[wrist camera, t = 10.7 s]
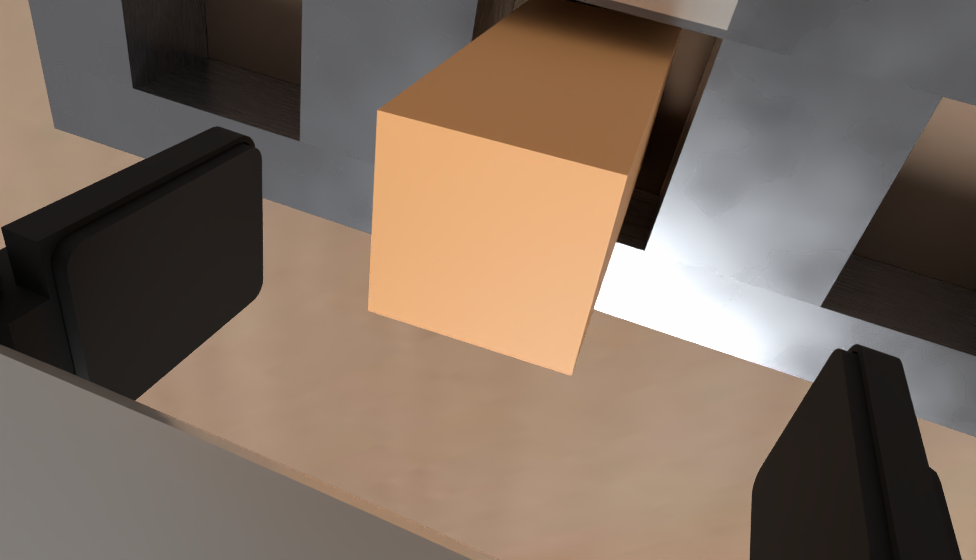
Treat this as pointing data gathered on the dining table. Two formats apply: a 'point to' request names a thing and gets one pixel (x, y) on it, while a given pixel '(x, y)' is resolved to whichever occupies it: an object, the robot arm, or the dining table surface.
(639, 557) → the dining table surface
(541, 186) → the square peg
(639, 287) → the peg board
